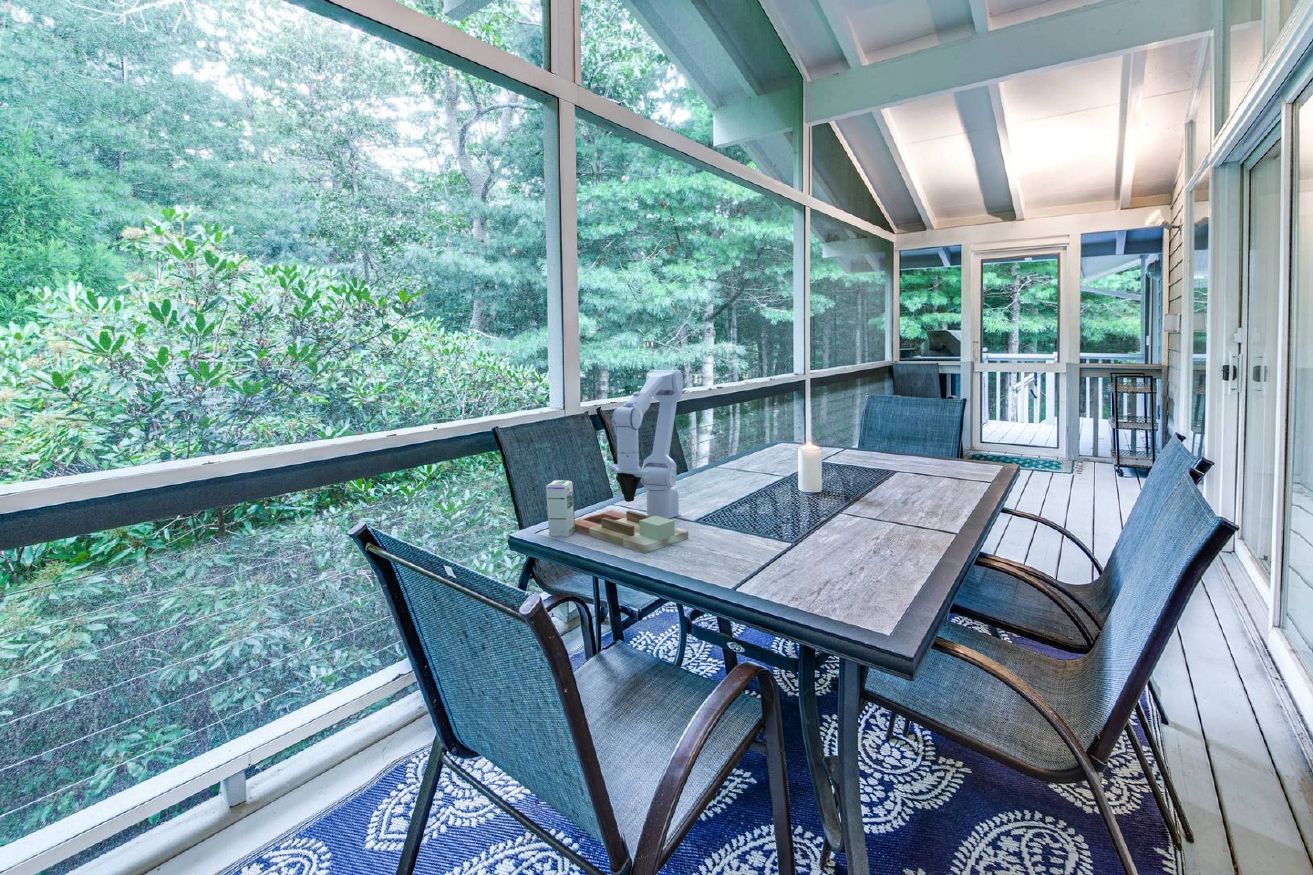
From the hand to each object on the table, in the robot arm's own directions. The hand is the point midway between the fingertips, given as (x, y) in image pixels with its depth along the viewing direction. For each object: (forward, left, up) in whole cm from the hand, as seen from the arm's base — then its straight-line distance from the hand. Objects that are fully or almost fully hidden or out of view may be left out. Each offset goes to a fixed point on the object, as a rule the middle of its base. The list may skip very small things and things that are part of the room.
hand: (629, 500), depth 169 cm
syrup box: (+12, -15, -10) cm, 21 cm away
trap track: (0, -1, -9) cm, 10 cm away
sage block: (0, +11, -7) cm, 13 cm away
